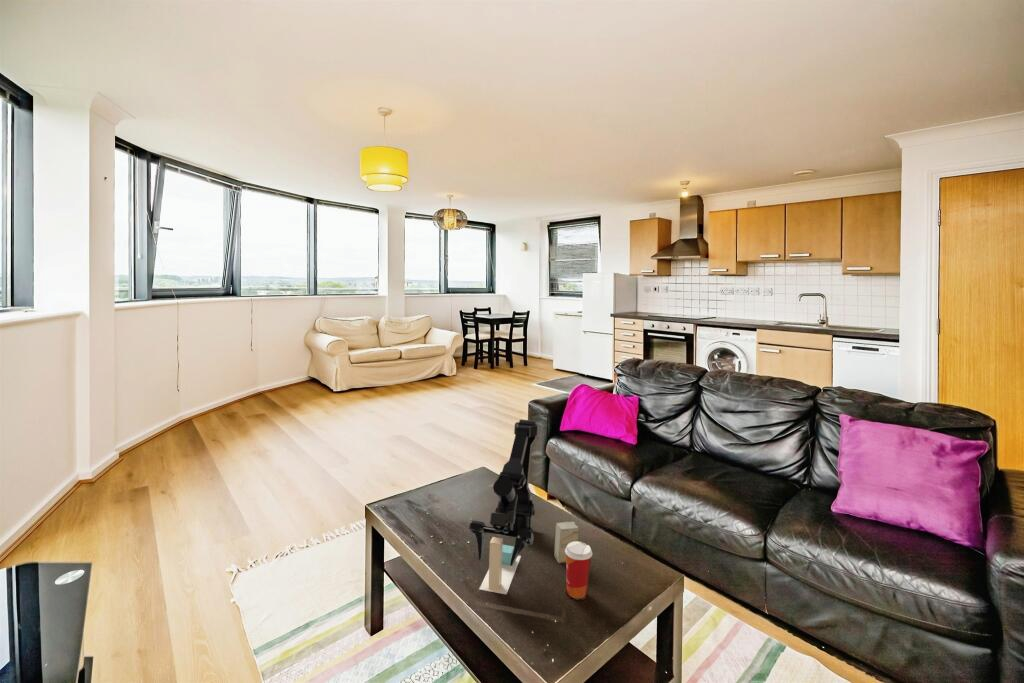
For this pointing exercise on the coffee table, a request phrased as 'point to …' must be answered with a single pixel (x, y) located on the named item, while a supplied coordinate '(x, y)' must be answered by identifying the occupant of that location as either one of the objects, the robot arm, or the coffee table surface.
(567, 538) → the skincare box
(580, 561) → the paper cup
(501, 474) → the robot arm
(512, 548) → the teal block
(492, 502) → the coffee table surface
